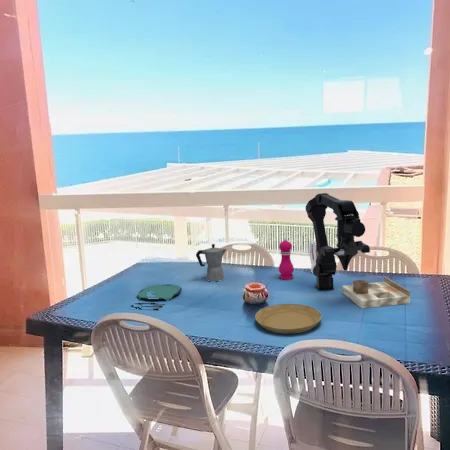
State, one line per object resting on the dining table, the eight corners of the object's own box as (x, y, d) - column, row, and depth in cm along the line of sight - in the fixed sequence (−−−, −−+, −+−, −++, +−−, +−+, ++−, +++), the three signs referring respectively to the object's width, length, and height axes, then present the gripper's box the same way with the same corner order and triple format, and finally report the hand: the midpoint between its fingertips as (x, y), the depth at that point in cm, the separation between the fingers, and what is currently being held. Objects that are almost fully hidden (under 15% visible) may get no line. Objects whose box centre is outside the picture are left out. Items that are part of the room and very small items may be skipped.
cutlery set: (188, 288, 216) (187, 283, 215) (162, 312, 187) (162, 307, 187) (149, 287, 221) (148, 283, 221) (119, 311, 193) (118, 306, 192)
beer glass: (325, 270, 231) (324, 241, 228) (322, 274, 225) (321, 244, 222) (311, 269, 234) (311, 241, 231) (308, 273, 228) (307, 244, 225)
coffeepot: (226, 275, 233) (224, 240, 230) (230, 280, 224) (228, 244, 221) (196, 278, 230) (193, 244, 227) (199, 284, 221) (196, 247, 218)
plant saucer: (276, 342, 152) (275, 333, 152) (244, 319, 174) (244, 311, 174) (335, 327, 162) (335, 318, 161) (298, 307, 183) (298, 299, 183)
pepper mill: (284, 281, 218) (283, 240, 214) (276, 277, 224) (274, 237, 220) (297, 278, 221) (295, 238, 217) (288, 275, 227) (287, 235, 224)
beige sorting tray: (361, 308, 177) (361, 296, 177) (342, 292, 197) (341, 281, 196) (410, 303, 180) (410, 291, 179) (385, 288, 199) (385, 277, 199)
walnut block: (357, 294, 185) (357, 283, 184) (353, 291, 189) (353, 280, 188) (368, 293, 185) (368, 282, 185) (363, 289, 190) (363, 279, 189)
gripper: (329, 238, 173) (330, 278, 176) (376, 234, 175) (376, 273, 178) (319, 233, 184) (320, 270, 187) (363, 229, 186) (363, 266, 189)
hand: (345, 270), depth 185 cm, fingers closed
